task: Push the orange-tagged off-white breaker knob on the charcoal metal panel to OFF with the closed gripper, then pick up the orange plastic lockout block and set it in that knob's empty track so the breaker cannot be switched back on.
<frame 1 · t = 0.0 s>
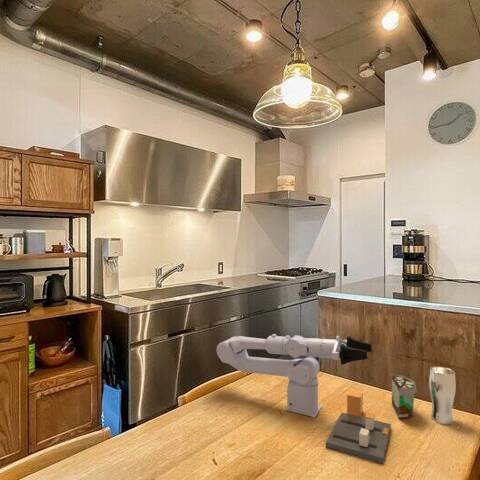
hand: (369, 351, 104), 22 cm above the table, tool horizontal, fingers open, 7 cm apart
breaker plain: (364, 437, 92), point 3 cm above the table, slide at 0.0 cm
beer glass: (442, 420, 108), on the table
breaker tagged: (369, 421, 100), point 3 cm above the table, slide at 0.0 cm
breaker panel: (359, 438, 98), on the table
food container: (405, 413, 112), on the table
lockout block: (354, 412, 112), on the table
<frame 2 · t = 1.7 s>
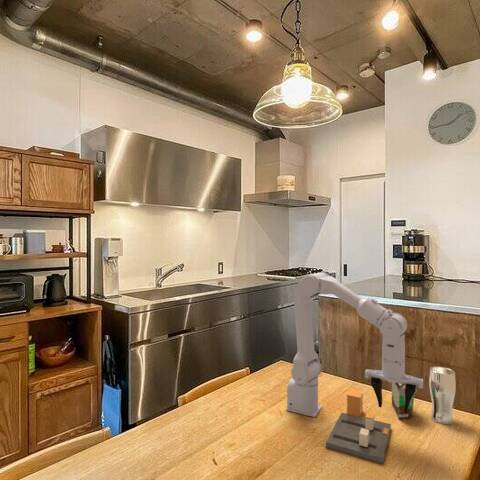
hand: (393, 408, 97), 8 cm above the table, tool pointing down, fingers open, 6 cm apart
nothing on the table moved.
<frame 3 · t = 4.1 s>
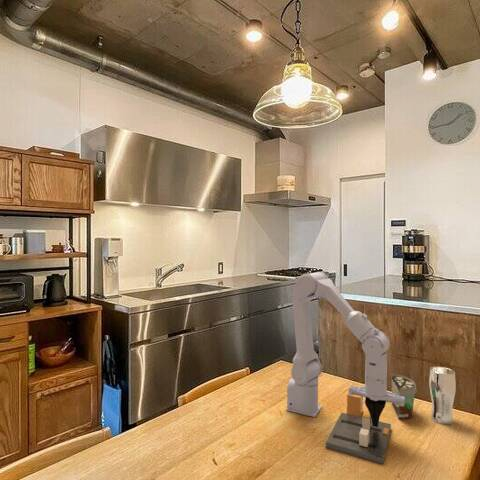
hand: (375, 424, 99), 3 cm above the table, tool pointing down, fingers closed
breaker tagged: (366, 420, 101), point 3 cm above the table, slide at 0.8 cm, touching gripper
everything else where it was.
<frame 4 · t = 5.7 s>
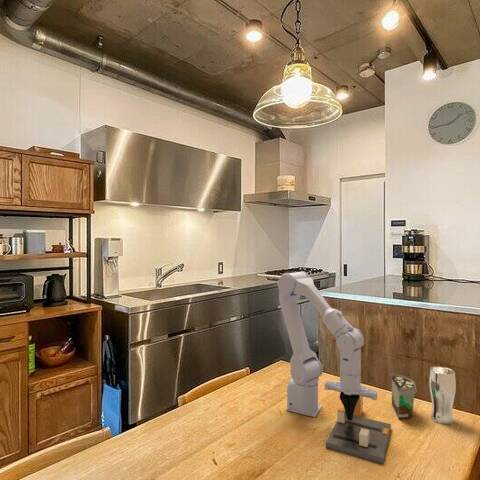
hand: (350, 418, 103), 3 cm above the table, tool pointing down, fingers closed
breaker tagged: (341, 414, 104), point 3 cm above the table, slide at 7.8 cm, touching gripper
everything else where it was.
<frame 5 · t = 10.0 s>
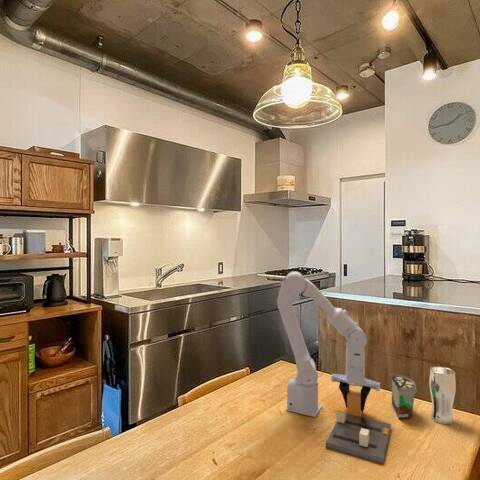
hand: (354, 408, 112), 1 cm above the table, tool pointing down, fingers closed on lockout block, 4 cm apart
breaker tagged: (341, 414, 104), point 3 cm above the table, slide at 7.8 cm
lockout block: (354, 412, 112), on the table, touching gripper
everything else where it was.
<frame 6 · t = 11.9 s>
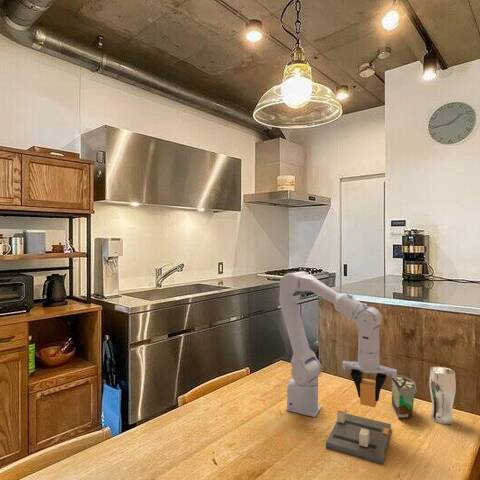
hand: (368, 398, 101), 9 cm above the table, tool pointing down, fingers closed on lockout block, 4 cm apart
lockout block: (368, 402, 102), point 8 cm above the table, touching gripper
everything else where it was.
when the fingers open (4 cm above the table, at t = 13.8 s): lockout block stays where it is, resting on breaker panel.
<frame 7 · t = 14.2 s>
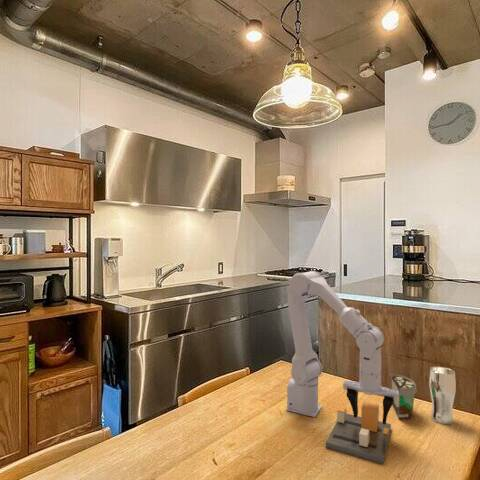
hand: (369, 419, 100), 4 cm above the table, tool pointing down, fingers open, 7 cm apart
lockout block: (370, 427, 100), point 2 cm above the table, touching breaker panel
everything else where it was.
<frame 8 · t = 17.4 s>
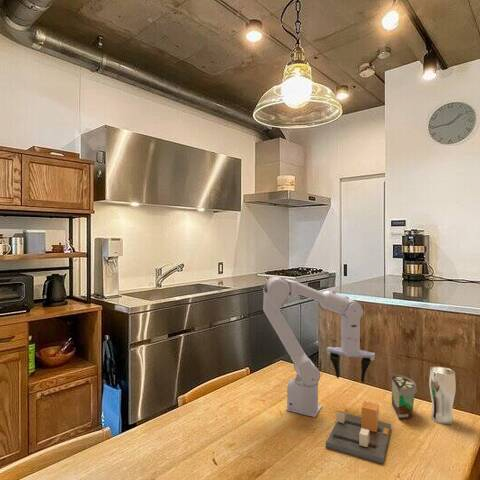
hand: (350, 378, 115), 9 cm above the table, tool pointing down, fingers open, 7 cm apart
nothing on the table moved.
at the end: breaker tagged slide at 7.8 cm; lockout block 0.2 cm from the target spot, point 1.6 cm above the table; lockout block tilted 0° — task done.
